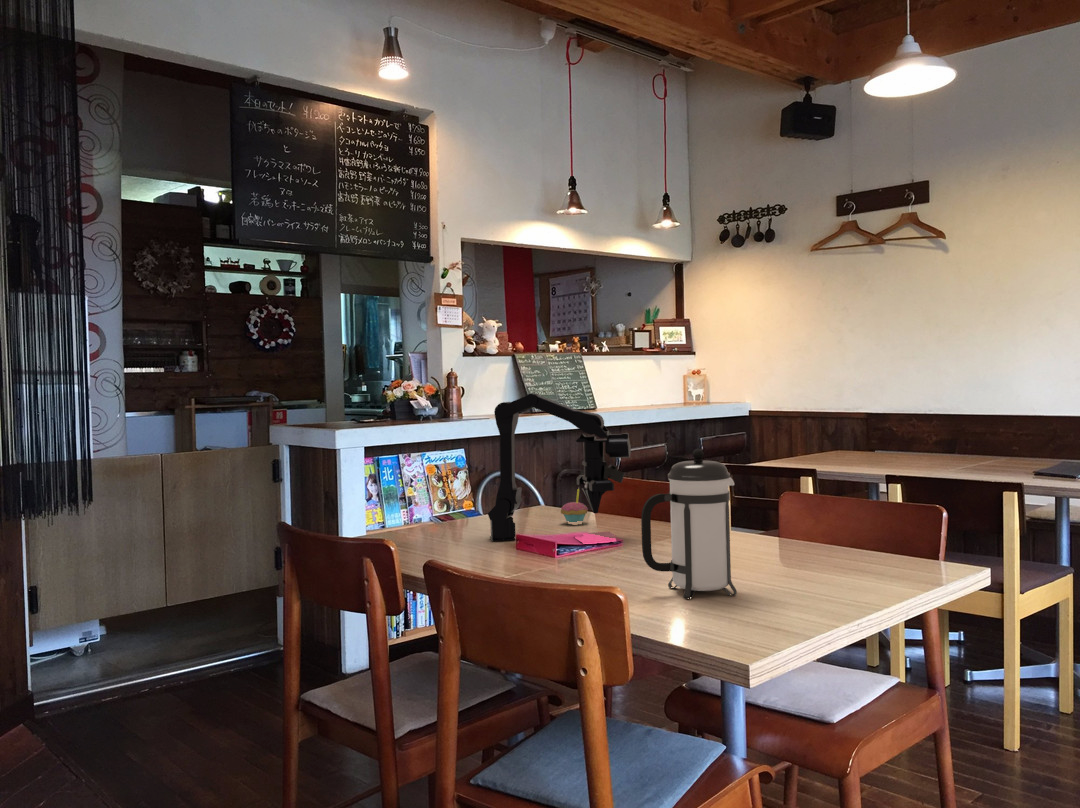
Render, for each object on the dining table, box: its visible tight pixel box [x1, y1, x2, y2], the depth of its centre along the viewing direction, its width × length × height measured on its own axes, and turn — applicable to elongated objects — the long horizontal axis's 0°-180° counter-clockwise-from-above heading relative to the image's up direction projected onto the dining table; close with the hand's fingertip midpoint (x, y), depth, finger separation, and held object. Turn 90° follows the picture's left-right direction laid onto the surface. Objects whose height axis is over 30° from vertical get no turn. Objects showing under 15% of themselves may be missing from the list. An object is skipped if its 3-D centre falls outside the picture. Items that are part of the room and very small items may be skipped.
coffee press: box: [640, 448, 738, 600], centre depth 176 cm, size 17×16×30 cm
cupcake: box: [560, 487, 589, 522], centre depth 267 cm, size 9×8×12 cm
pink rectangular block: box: [587, 531, 617, 539], centre depth 236 cm, size 8×2×7 cm
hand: (595, 513), depth 238 cm, fingers closed
